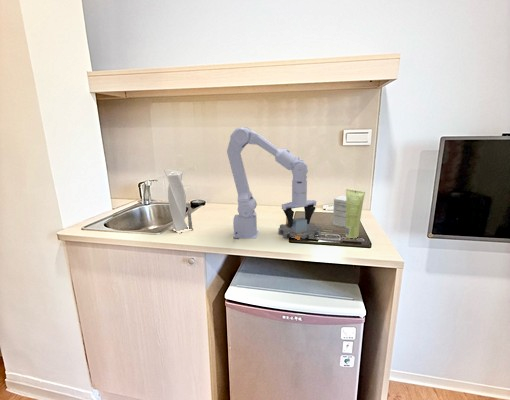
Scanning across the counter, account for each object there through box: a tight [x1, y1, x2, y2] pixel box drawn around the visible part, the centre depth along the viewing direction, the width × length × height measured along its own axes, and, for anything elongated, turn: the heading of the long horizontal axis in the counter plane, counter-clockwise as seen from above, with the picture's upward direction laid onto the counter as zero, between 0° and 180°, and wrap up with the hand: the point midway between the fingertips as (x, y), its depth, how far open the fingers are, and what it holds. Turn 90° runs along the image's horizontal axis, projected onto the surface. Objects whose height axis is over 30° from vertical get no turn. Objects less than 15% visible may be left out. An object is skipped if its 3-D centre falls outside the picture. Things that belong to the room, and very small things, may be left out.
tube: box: [344, 188, 366, 238], centre depth 109 cm, size 6×5×20 cm
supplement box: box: [332, 195, 346, 228], centre depth 124 cm, size 7×7×13 cm
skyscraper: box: [164, 169, 194, 231], centre depth 122 cm, size 8×8×28 cm
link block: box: [292, 217, 307, 234], centre depth 112 cm, size 5×4×5 cm
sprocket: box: [277, 216, 322, 241], centre depth 117 cm, size 18×18×6 cm
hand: (299, 224), depth 112 cm, fingers open, 7 cm apart
